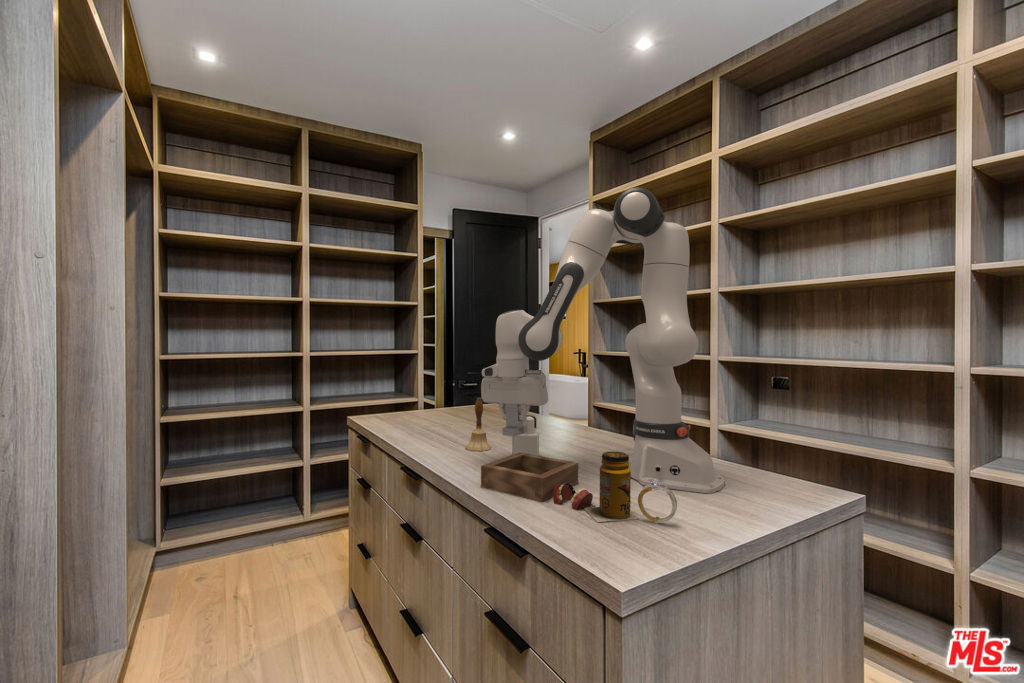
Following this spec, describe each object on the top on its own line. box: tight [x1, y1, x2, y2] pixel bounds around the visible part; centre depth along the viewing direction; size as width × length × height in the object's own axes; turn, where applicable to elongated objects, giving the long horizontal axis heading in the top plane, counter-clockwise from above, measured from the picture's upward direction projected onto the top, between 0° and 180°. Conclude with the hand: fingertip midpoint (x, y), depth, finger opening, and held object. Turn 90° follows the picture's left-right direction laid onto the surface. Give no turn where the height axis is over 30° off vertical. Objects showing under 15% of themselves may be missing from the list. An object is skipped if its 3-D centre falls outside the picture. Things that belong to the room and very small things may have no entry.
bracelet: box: [637, 479, 678, 525], centre depth 90 cm, size 7×3×8 cm, turn 55°
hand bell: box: [465, 397, 492, 452], centre depth 151 cm, size 8×8×16 cm
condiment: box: [583, 450, 639, 523], centre depth 95 cm, size 7×8×12 cm
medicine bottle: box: [511, 414, 540, 456], centre depth 140 cm, size 7×7×12 cm
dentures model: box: [552, 483, 594, 511], centre depth 101 cm, size 6×4×8 cm
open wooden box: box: [480, 453, 579, 503], centre depth 113 cm, size 17×16×5 cm
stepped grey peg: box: [502, 404, 527, 437], centre depth 131 cm, size 4×6×9 cm, turn 144°
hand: (514, 420), depth 131 cm, fingers closed on stepped grey peg, 4 cm apart
